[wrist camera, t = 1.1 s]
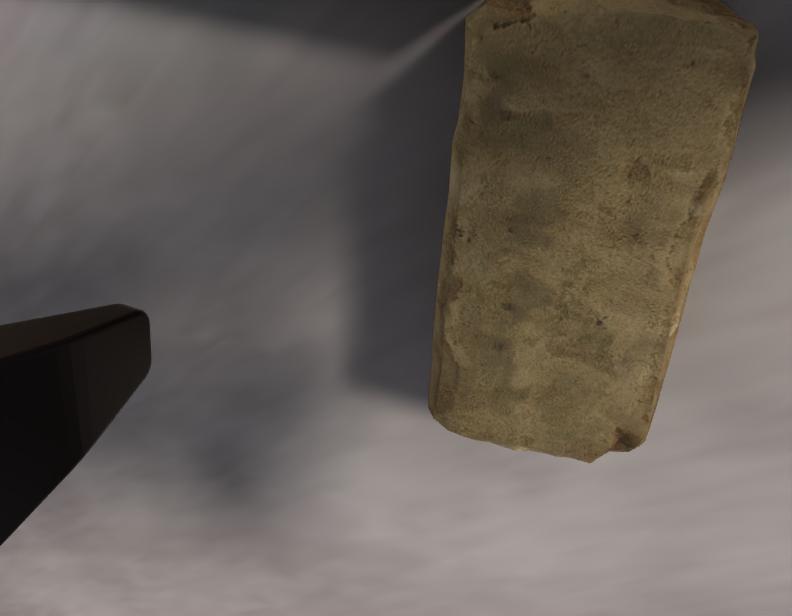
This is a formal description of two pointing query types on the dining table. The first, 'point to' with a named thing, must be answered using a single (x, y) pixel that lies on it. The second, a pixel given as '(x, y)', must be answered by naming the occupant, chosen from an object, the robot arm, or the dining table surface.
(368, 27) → the dining table surface
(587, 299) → the stone block
